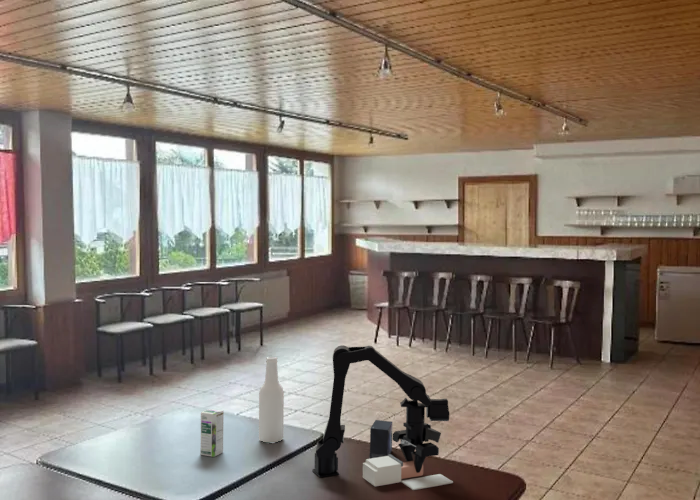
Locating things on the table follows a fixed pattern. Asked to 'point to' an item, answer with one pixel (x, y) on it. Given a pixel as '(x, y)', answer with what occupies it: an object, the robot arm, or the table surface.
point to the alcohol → (271, 405)
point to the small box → (380, 439)
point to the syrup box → (211, 432)
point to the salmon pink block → (410, 470)
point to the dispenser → (382, 470)
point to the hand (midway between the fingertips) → (414, 470)
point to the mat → (426, 481)
